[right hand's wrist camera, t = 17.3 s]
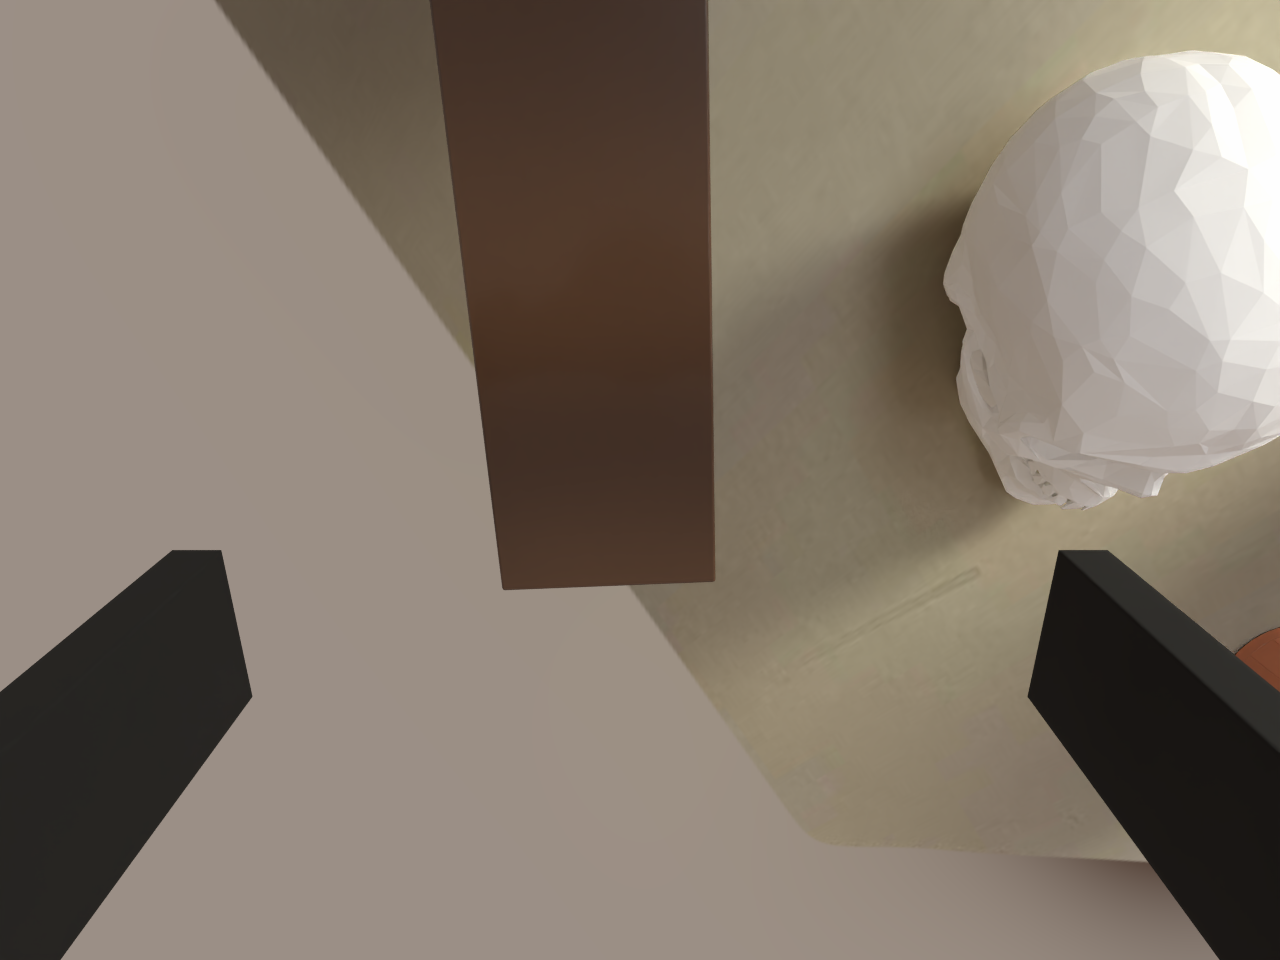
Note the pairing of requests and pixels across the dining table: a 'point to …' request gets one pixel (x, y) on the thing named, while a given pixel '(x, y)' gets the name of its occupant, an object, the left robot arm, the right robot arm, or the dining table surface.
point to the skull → (1126, 281)
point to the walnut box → (587, 279)
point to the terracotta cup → (1264, 656)
